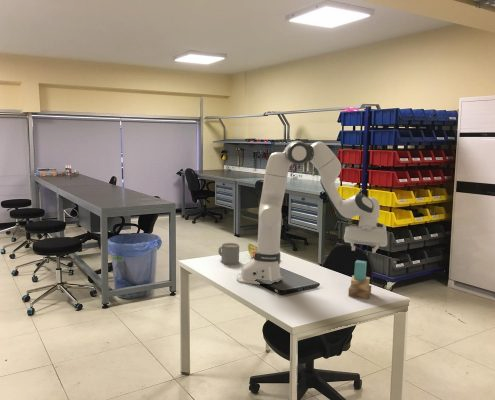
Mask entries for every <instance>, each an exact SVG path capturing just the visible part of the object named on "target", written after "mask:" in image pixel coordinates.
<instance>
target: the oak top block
mask: <svg viewBox="0 0 495 400" xmlns="http://www.w3.org/2000/svg"><path fill="white" fill-rule="evenodd" d="M370 281H371V277H369V276H366V278H365V280H364V281H362V280H355V279H354V274H353V275H351V280H350V285H351V289H357V290H365V291H369V285H370Z"/></svg>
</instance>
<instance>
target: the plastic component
mask: <svg viewBox="0 0 495 400" xmlns="http://www.w3.org/2000/svg"><path fill="white" fill-rule="evenodd" d="M254 250H255V251H257V250H258V246H256V245H253V244H251V243H248V244H247V251H248V254H249V255H250V256H251V258H253V251H254Z"/></svg>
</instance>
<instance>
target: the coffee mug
mask: <svg viewBox="0 0 495 400" xmlns="http://www.w3.org/2000/svg"><path fill="white" fill-rule="evenodd" d="M217 251H218V255H219V256H220V257H221V259H220V260H221V264H224V265H237V264H239V263H240V244H239V243H235V242H225V243H222V244H221V246H219V247H218V250H217Z"/></svg>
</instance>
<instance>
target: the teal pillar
mask: <svg viewBox="0 0 495 400" xmlns="http://www.w3.org/2000/svg"><path fill="white" fill-rule="evenodd" d="M367 263H368V262H367V261H366V260H359V259H356V261H354V271H353V272H354V273H353V275H354V279H355V280H362V281H364V280H365V278H366V277H367V265H368V264H367Z"/></svg>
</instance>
